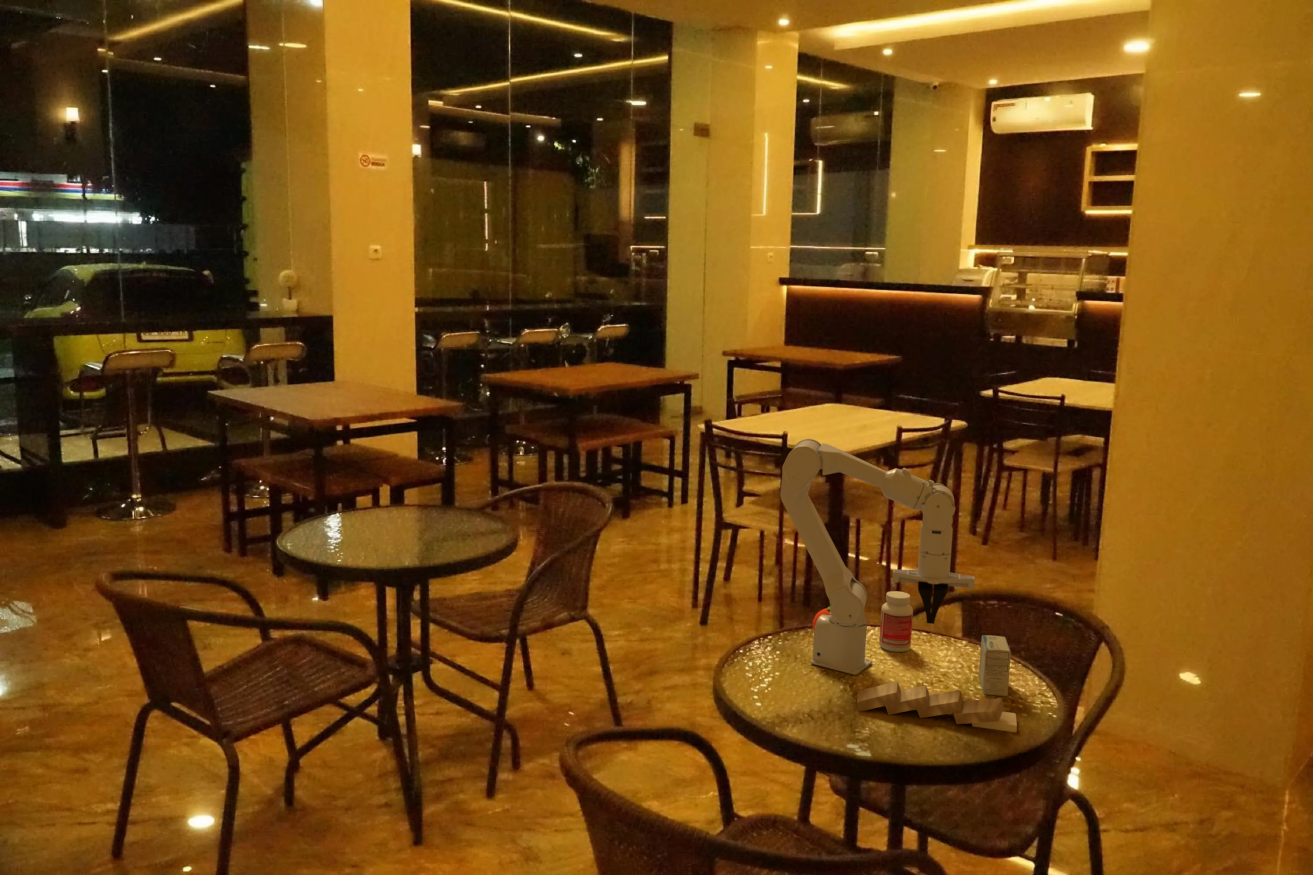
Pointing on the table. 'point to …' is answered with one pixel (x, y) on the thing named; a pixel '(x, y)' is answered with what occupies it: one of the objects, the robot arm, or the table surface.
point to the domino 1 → (879, 696)
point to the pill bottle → (896, 622)
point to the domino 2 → (910, 700)
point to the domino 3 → (942, 704)
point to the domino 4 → (980, 711)
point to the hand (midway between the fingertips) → (930, 621)
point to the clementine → (822, 612)
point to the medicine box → (994, 665)
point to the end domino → (1001, 723)
